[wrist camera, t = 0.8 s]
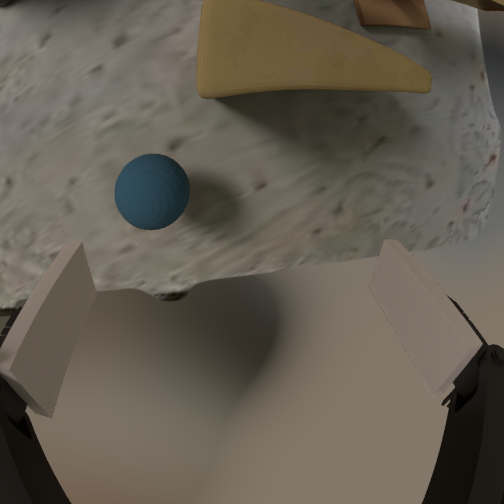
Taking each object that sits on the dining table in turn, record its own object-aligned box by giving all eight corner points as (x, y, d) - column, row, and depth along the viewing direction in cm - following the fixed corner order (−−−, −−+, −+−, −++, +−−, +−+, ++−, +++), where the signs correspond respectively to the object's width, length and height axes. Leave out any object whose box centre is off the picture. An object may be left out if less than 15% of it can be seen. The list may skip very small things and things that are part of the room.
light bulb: (195, 140, 35) (184, 163, 24) (195, 200, 39) (187, 244, 29) (133, 142, 33) (99, 167, 23) (136, 201, 38) (110, 244, 28)
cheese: (374, 50, 29) (445, 45, 17) (367, 113, 34) (435, 134, 22) (208, 26, 27) (201, -13, 14) (204, 96, 32) (193, 100, 19)
